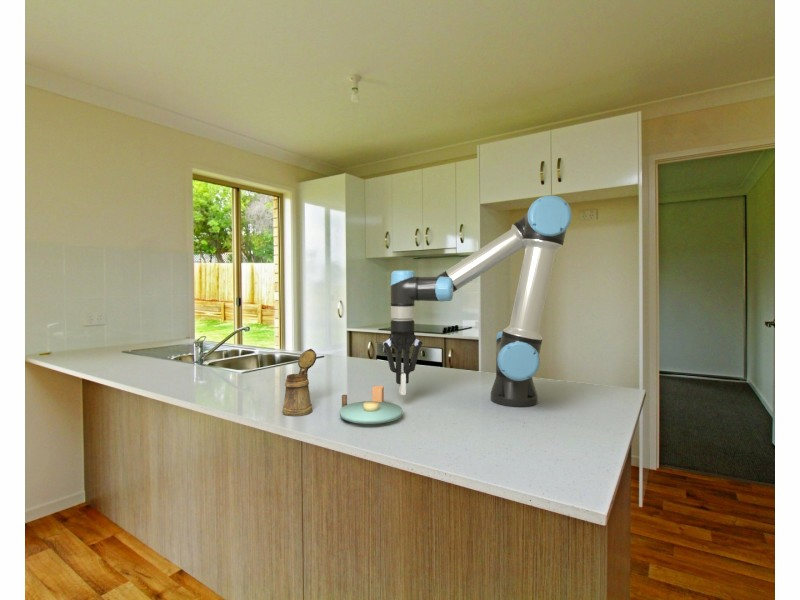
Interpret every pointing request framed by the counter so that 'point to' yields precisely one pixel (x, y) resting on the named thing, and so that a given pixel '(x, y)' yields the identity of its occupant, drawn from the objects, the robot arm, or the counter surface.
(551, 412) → the counter surface
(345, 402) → the dowel
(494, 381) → the robot arm
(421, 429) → the counter surface
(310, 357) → the wooden mug
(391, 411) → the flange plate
